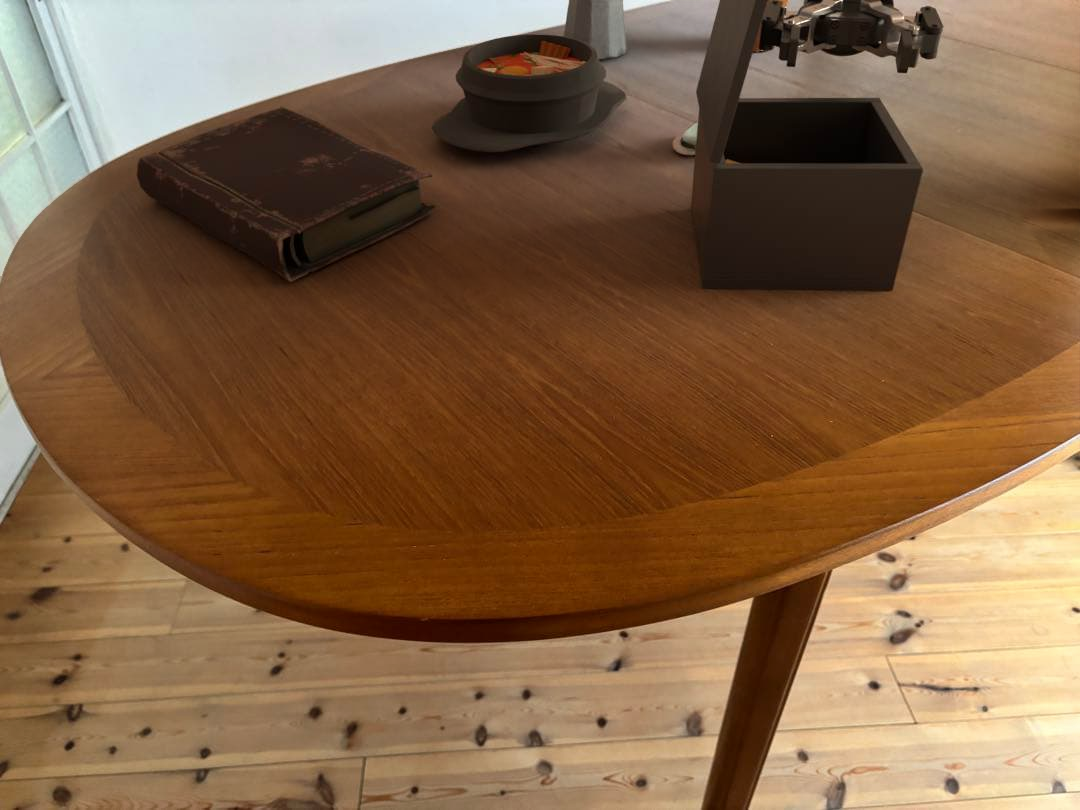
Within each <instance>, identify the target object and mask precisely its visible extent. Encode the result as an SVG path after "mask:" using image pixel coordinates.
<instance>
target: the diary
mask: <svg viewBox="0 0 1080 810" xmlns="http://www.w3.org/2000/svg"><path fill="white" fill-rule="evenodd" d="M432 177H433V174H432V173H430V172H428V171H425V170H423V169H421V168H418V167H416V166H414V165H411V164H409V163H407V162H404V161H402V160H399V159H397V158H394V157H392V156H390V155H388V154H385V153H383V152H381V151H379V150H376V149H373V148H371V147H370V146H367V145H364V144H362V143H359V142H357V141H355V140H353V139H351V138H349V137H347V136H345V135H344V134H342V133H340V132H338V131H336V130H334V129H332V128H331V127H329V126H327V125H325V124H323V123H321V122H319V121H317V120H315V119H312V118H311V117H307V116H305V115H303V114H301V113H298V112H295V111H293V110H291V109H288V108H287V107H283V106H281V107H277V108H274V109H271V110H268V111H265V112H261V113H258V114H255V115H253V116H249V117H247V118H243V119H240V120H237V121H235V122H231V123H229V124H225V125H223V126H220V127H217V128H213V129H211V130H208V131H206V132H203V133H201V134H198V135H196V136H194V137H191V138H188V139H186V140H183V141H180V142H177V143H176V144H173V145H171V146H168V147H166V148H164V149H162V150H159V151H158V152H153V153H150V154H148V155H144V156H142V157H139V158H138V161H137V165H136V178H137V181H138V184H139V187H140V188H141V189H142V191H143V192H144V193H145V194H146V196H148V197H149V198H150V199H152V200H154V201H155V202H157V203H159V204H161V205H163V206H165V207H166V208H168V209H171V211H174V212H176V213H177V214H179V215H181V216H183V217H184V218H185V219H187V220H188V221H191V222H192V223H194V224H195V225H197V226H198V227H200V228H201V229H202V230H204V231H206V232H207V233H209V234H210V235H212V236H213V237H215V238H216V239H219V240H220V241H222V242H224V243H225V244H228V245H230V246H232V247H233V248H234V249H237V250H239V251H241V252H243V253H244V254H246V255H248V256H249V257H251V258H253V259H254V260H256V261H257V262H259V263H260V264H262V265H263V266H265V267H266V268H267V269H269V270H270V271H272V272H273V273H275V274H276V275H278V276H280V277H281V278H283V279H285V280H286V281H288V282H290V283H292V282H294V281H296V280H298V279H300V278H302V277H305V276H306V275H308V274H309V272H310V273H313V272H315V271H316V270H319V269H321V268H323V267H325V266H328V265H330V264H332V263H333V262H336V261H338V260H340V259H343V258H345V257H347V256H349V255H351V254H353V253H355V252H357V251H359V250H362V249H364V248H366V247H368V246H370V245H372V244H375V243H376V242H378V241H381V240H383V239H384V238H387V237H389V236H391V235H393V234H395V233H398V232H399V231H402V230H403V229H405V228H407V227H409V226H410V225H412V224H414V223H416V222H418V221H420V220H422V219H424V218H425V217H427V216H429V215H430V214H431V213H432V212H433V210H435V208H436V205H435V204H431V205H428V204H426V203H423V202H422V198H421V188H420V181H421V180H423V179H428V178H432Z"/></svg>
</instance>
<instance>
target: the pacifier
mask: <svg viewBox="0 0 1080 810" xmlns="http://www.w3.org/2000/svg"><path fill="white" fill-rule="evenodd" d="M697 128H698V121H697V122H696V123H694V124H693V125H692V126H691V127H689V128H688V129H687V130H686V131H685V132H682V133H680V134H678V135H677V136H676V137H675V138H673V141H672V148H673V150H674V151H675V152H676V153H678V154H680V155H684V156H695V152H696V140H697ZM683 142H685V143H687V144H689V145H692V146H693V148H692V147H691V148H689V147H685V146H683V145H682V143H683Z"/></svg>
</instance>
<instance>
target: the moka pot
mask: <svg viewBox="0 0 1080 810" xmlns="http://www.w3.org/2000/svg"><path fill="white" fill-rule="evenodd" d="M567 5H568V6H567V11H566V18H565V26H564V31H563V32H564V33H563V37H569V38H573V39H577V40H580V41H583V42H585V43H587V44H589V45H591V46H592V47H593V48H594V49H595V50H596V52H597V55H598V58H599V60H605V59H613V58H618V57H620V56H623V55H624V54H625V53H626V51H625V49H626V50H627V40H626V39H627V38H626V25H625V10H624V9H625V8H624V0H568V4H567ZM622 54H623V55H622Z"/></svg>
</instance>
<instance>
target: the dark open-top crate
mask: <svg viewBox="0 0 1080 810" xmlns="http://www.w3.org/2000/svg"><path fill="white" fill-rule="evenodd" d="M697 122H698V128H697V140H696V152H695V155H694V165H693V175H692V189H691V201H690V213H691V219H692V226H693V234H694V241H695V248H696V254H697V261H698V268H699V274H700V283H701V288H702V289H704V290H706V289H707V290H711V289H712V290H791V291H793V290H795V291H796V290H797V291H888V292H889V291H892V292H893V290H894V287H895V284H896V278H897V275H898V271H899V267H900V263H901V259H902V256H903V252H904V247H905V243H906V239H907V235H908V231H909V228H910V223H911V219H912V216H913V211H914V209H915V204H916V201H917V196H918V191H919V189H920V184H921V181H922V176H923V172H924V167H923V166H922V164H921V163H920V161H919V160H918V158H917V156H916V155H915V153H914V151H913V150H912V148H911V147H910V145H909V143H908V141H907V140H906V138H905V137H904V135H903V134H902V132H901V131H900V129H899V128H898V125H897V124H896V122H895V121H894V119H893V118H892V116H891V114H890V113H889V111H888V109H887V108H886V106H885V104H884V103H883V102H882V100H881V98H880V97H740V98H739V101H738V104H737V108H736V111H735V115H734V118H733V121H732V125H731V128H730V132H729V135H728V139H727V142H726V145H725V149H724V152H723V156H722V159H721V162H720V163H716V162H710V159H709V154H708V149H707V144H706V139H705V134H704V129H703V124H702V119H701V114H700V109H699V108H698V119H697ZM726 159H729V160H732V161H735V162H738V163H726V162H725V160H726Z"/></svg>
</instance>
